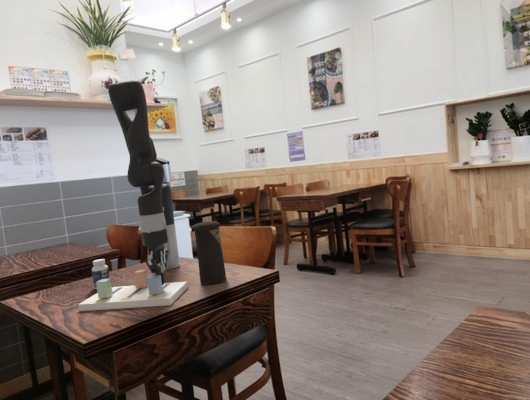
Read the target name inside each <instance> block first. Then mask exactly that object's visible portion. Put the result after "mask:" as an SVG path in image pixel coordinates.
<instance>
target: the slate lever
mask: <svg viewBox="0 0 530 400" xmlns="http://www.w3.org/2000/svg"><path fill="white" fill-rule="evenodd" d="M147 277H148V278H147V282H148V289H149V295H157V294H160V293H161V292H162V291H163V288H162V281H161V275H156V274H153V275H152V274H151V275H149V276H147Z"/></svg>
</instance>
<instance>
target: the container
mask: <svg viewBox="0 0 530 400" xmlns="http://www.w3.org/2000/svg"><path fill="white" fill-rule="evenodd" d="M220 226H221V223H220V222H218V221H213V220H212V221H203V222H202V221H201V222H198V223H195V224H194V225H193V226H192V229H193V231H194V235H195V236H194V237H195V243H196V251H197V260H198V261H197V262H198V270H199V273H198V274H199V281H200V284H201V285H206V286H207V285H208V286H209V285H216V284H221V283H223V282H225V281H226V280H227V274H226V267H225V261H224V254H223V247H222V240H221V239H222V238H221V233H220Z"/></svg>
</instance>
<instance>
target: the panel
mask: <svg viewBox="0 0 530 400" xmlns="http://www.w3.org/2000/svg"><path fill="white" fill-rule="evenodd" d="M162 288H163V291H162V292H161V293H160V294H157V295H149V289H148V286H146V287H145V288H136V287H135V284H133V285H124V286H112V292H113V295H112V296H110V297H109V298H100V299H99V298H98V292H96V293H95V294H93V295H91V296H90V297H88V298H87V299H84V300H83V301H82V302H80V303H78V304H77V306H78V311H79V312H87V311H89V312H90V311H102V310H118V309H120V310H121V309H131V308H133V309H134V308H135V309H136V308H146V307H147V308H148V307H162V306H171V305H172V304H173V303H174V302H175V301H176V300H178V299H179V297H180V296H182V294H184V293H185V291H186V290H187V289H189V283H188V281H176V282H165V284H163V285H162Z"/></svg>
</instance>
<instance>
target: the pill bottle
mask: <svg viewBox="0 0 530 400" xmlns="http://www.w3.org/2000/svg"><path fill="white" fill-rule="evenodd" d="M92 265H93V267H92V268H91V274H92V282H93V288H94V289H95V290H97V285H96V282H98V281H99V280H101V279H111V278H110V277H111V276H110V271H109V266H108V265H107V264H106V260H105V258H100V259H95V260H93V261H92Z"/></svg>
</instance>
